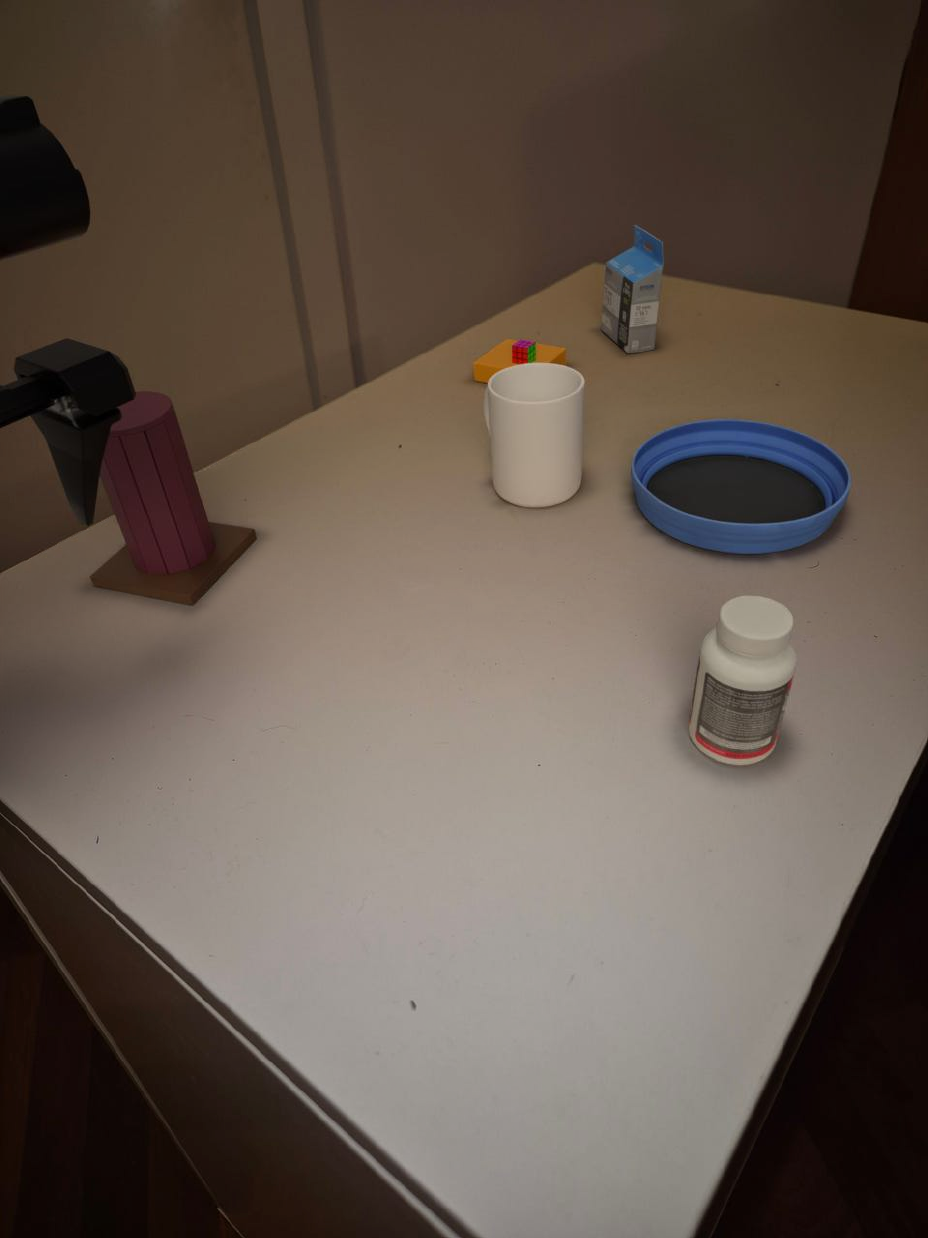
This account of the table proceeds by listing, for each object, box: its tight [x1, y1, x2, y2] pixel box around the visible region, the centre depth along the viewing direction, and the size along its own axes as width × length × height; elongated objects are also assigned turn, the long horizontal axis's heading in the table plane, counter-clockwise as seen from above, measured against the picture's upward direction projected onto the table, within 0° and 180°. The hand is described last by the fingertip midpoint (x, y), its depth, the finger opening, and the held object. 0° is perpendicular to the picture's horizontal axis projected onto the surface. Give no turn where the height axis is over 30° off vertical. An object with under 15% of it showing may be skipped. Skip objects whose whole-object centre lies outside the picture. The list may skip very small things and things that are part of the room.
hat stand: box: [89, 521, 258, 606], centre depth 70 cm, size 10×10×6 cm
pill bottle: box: [688, 594, 798, 766], centre depth 50 cm, size 5×5×10 cm
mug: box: [482, 363, 586, 509], centre depth 76 cm, size 12×8×10 cm
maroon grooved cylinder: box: [99, 390, 216, 575], centre depth 67 cm, size 7×7×13 cm
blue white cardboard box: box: [600, 224, 665, 354], centre depth 100 cm, size 9×4×12 cm, turn 14°
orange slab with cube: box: [472, 338, 567, 384], centre depth 96 cm, size 8×8×4 cm
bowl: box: [630, 418, 852, 555], centre depth 72 cm, size 18×18×4 cm
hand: (19, 559), depth 50 cm, fingers open, 9 cm apart
